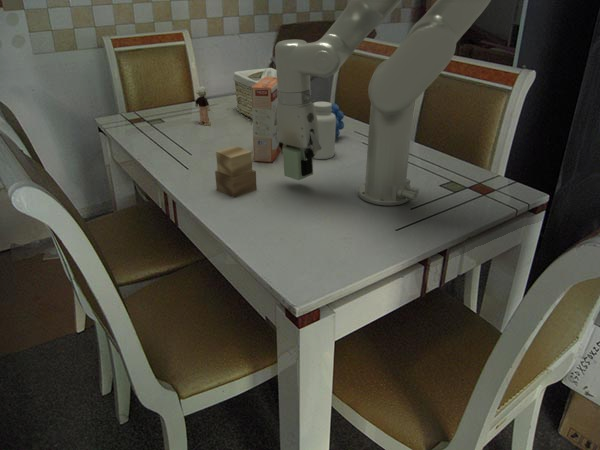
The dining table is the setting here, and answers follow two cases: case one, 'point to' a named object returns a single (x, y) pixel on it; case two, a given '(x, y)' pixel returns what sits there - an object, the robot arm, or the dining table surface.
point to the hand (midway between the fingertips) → (298, 171)
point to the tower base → (236, 183)
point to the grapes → (337, 118)
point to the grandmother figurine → (203, 105)
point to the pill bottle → (325, 130)
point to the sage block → (293, 162)
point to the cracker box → (265, 119)
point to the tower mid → (234, 161)
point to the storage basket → (248, 87)
